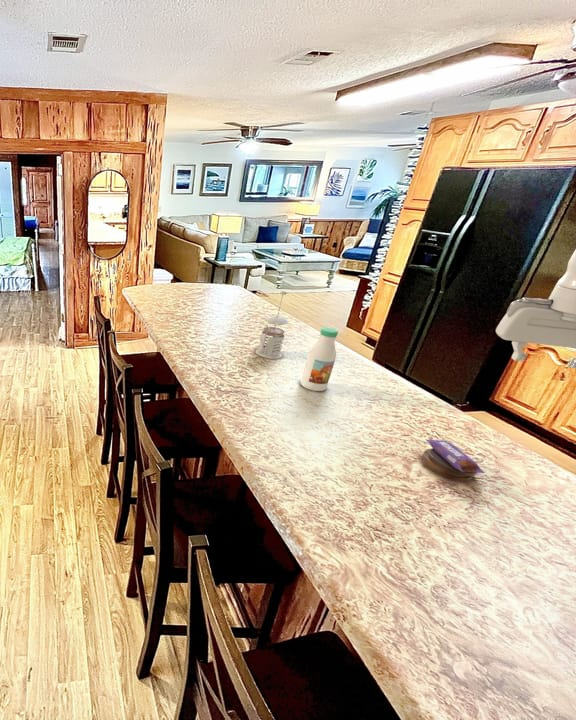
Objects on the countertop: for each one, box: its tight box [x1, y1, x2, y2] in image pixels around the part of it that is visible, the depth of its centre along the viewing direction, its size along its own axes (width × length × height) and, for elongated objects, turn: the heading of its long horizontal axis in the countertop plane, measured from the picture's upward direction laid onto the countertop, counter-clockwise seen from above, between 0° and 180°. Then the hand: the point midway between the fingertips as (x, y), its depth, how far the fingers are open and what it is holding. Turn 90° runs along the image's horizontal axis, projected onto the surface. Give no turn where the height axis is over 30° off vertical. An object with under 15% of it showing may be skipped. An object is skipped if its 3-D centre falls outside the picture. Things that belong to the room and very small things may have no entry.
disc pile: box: [422, 448, 478, 483], centre depth 92 cm, size 10×10×3 cm
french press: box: [255, 290, 289, 360], centre depth 145 cm, size 10×12×25 cm
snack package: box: [425, 439, 485, 474], centre depth 91 cm, size 12×2×5 cm
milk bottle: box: [300, 327, 339, 392], centre depth 124 cm, size 8×8×20 cm
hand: (544, 363), depth 84 cm, fingers open, 8 cm apart
